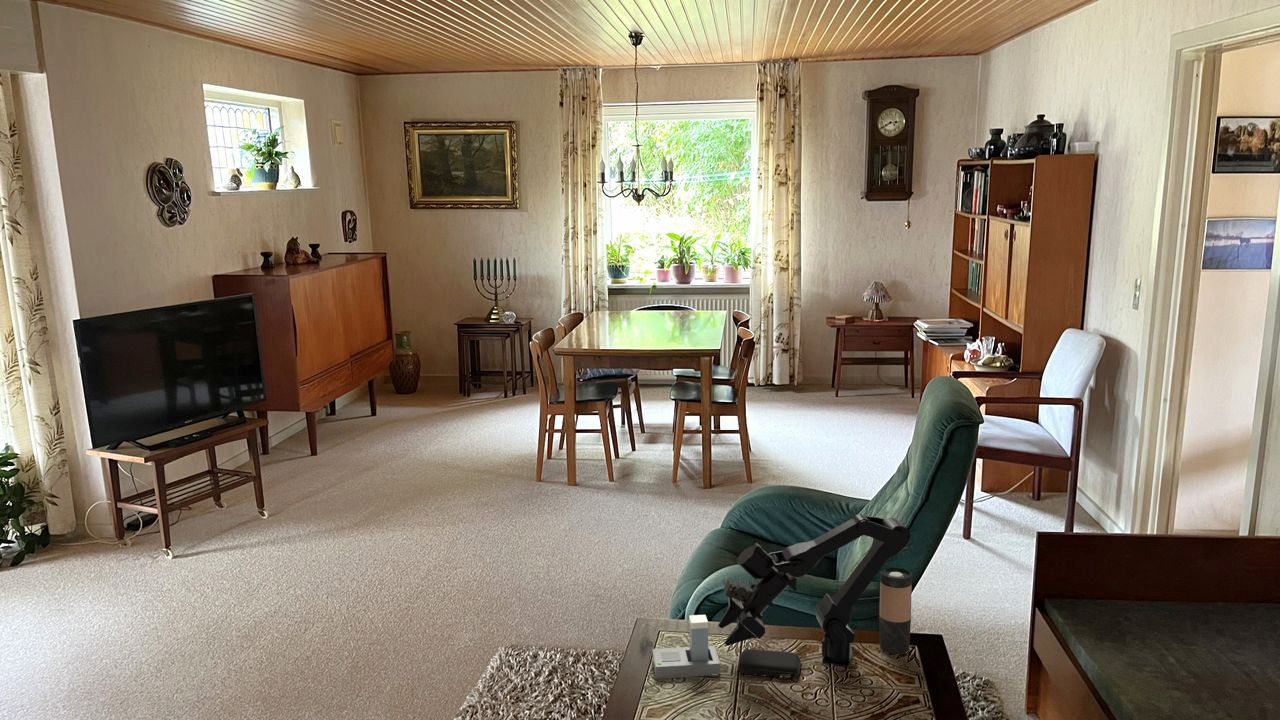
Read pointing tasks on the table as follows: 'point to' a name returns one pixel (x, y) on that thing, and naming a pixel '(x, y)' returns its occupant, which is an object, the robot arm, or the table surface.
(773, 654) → the carrying case or bag
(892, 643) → the travel mug
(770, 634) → the table surface
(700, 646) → the blue-grey square block
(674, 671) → the grey holder base
